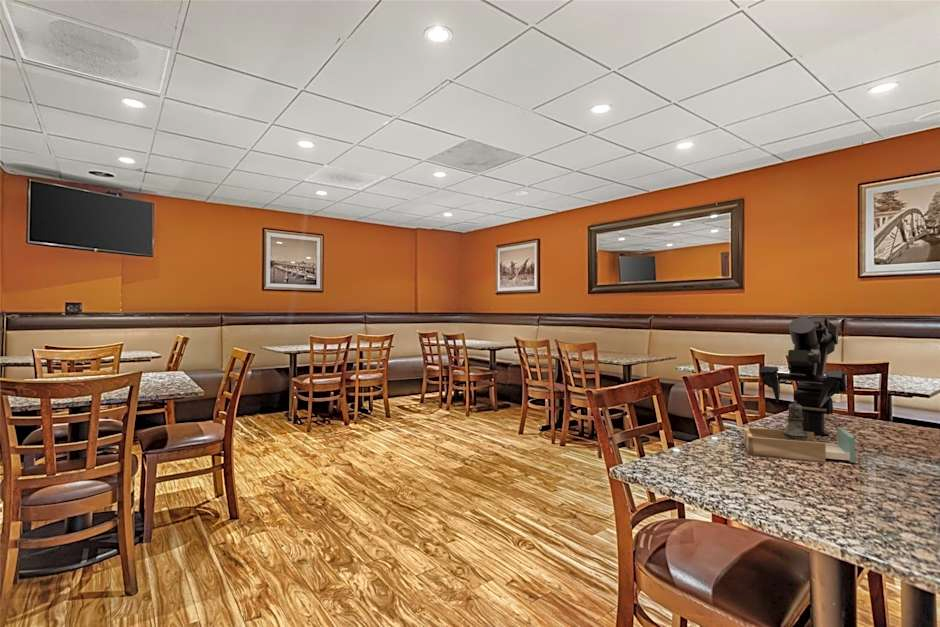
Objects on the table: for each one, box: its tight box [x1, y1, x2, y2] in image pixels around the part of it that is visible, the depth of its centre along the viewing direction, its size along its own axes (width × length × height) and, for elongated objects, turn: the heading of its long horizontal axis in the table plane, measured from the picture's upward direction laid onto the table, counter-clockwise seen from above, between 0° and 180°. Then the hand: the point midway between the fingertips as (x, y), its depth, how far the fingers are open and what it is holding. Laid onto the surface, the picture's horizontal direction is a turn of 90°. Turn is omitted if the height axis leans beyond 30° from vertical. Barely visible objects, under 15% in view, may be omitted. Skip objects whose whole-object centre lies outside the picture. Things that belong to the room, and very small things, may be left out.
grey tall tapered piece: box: [781, 399, 809, 441], centre depth 122 cm, size 6×6×12 cm
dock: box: [742, 426, 827, 463], centre depth 123 cm, size 11×16×4 cm
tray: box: [772, 427, 856, 463], centre depth 120 cm, size 9×16×6 cm, turn 66°
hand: (797, 404), depth 123 cm, fingers open, 9 cm apart
